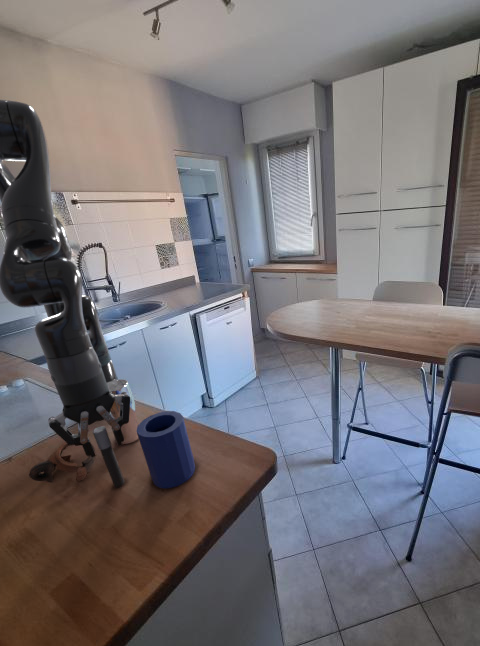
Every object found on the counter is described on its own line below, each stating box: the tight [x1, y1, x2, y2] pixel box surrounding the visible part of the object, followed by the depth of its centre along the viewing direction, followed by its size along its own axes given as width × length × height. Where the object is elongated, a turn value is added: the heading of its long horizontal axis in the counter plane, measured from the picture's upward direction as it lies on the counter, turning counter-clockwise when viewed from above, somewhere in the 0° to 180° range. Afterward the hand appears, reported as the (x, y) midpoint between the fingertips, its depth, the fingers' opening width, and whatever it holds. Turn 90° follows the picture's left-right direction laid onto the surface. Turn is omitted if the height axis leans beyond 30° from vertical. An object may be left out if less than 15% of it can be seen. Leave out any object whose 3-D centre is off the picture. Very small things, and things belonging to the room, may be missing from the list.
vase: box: [136, 410, 196, 489], centre depth 70 cm, size 9×9×13 cm
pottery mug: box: [28, 441, 97, 483], centre depth 73 cm, size 12×10×8 cm
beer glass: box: [107, 378, 139, 445], centre depth 82 cm, size 7×7×15 cm
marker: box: [92, 425, 125, 488], centre depth 68 cm, size 2×2×14 cm
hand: (106, 448), depth 67 cm, fingers open, 4 cm apart
